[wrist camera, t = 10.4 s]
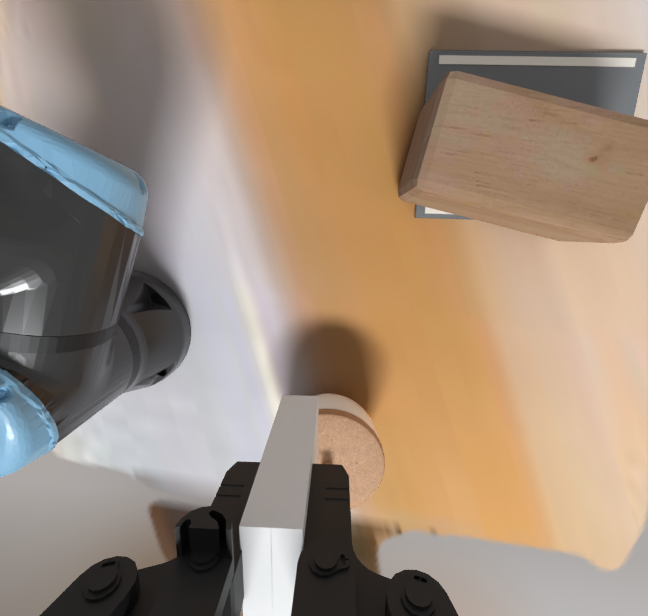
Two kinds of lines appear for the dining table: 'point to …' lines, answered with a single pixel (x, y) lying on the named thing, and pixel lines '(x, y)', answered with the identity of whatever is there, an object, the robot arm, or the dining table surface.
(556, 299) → the dining table surface
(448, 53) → the mat
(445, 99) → the wooden block
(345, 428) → the lidded bowl
